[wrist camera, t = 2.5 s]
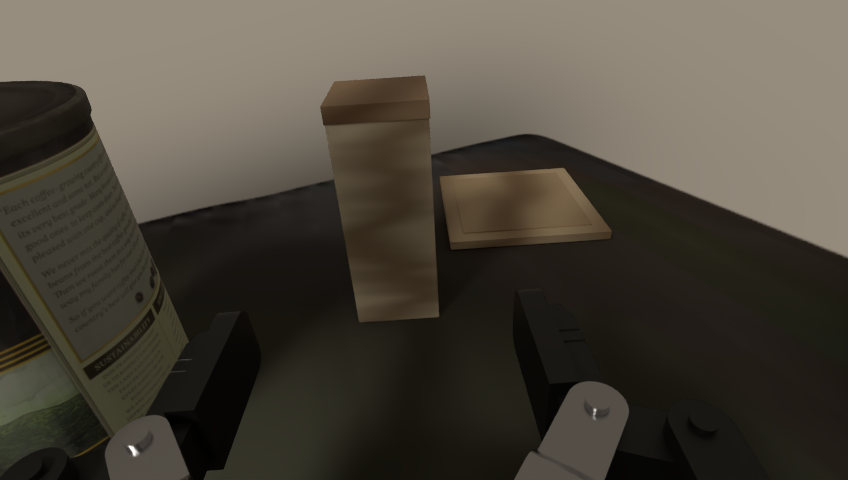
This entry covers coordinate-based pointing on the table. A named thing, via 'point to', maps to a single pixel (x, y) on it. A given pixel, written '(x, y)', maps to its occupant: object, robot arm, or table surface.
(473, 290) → the table surface
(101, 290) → the coffee can
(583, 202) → the cork coaster
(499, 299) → the table surface
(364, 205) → the wooden box with lid
